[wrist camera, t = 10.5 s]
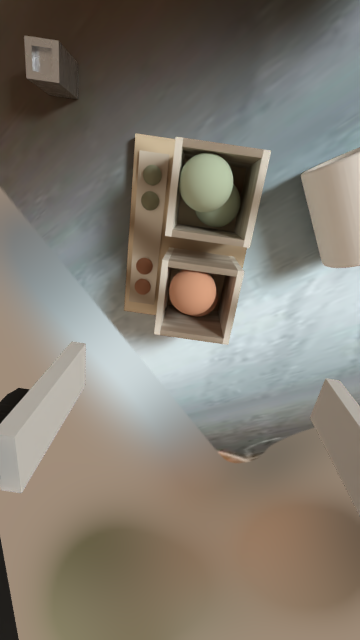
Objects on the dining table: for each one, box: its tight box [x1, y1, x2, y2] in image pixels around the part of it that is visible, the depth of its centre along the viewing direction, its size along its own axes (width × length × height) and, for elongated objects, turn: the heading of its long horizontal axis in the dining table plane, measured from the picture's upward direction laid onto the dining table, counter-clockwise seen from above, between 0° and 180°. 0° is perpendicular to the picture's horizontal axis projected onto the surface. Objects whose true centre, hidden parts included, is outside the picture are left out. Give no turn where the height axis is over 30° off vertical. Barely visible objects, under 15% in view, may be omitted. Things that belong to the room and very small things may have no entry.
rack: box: [124, 134, 271, 345], centre depth 31 cm, size 20×14×9 cm
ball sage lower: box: [195, 184, 240, 227], centre depth 30 cm, size 5×5×5 cm
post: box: [24, 36, 78, 99], centre depth 28 cm, size 3×3×5 cm
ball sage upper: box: [179, 153, 233, 212], centre depth 26 cm, size 5×5×5 cm
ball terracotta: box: [169, 269, 216, 315], centre depth 30 cm, size 5×5×5 cm
